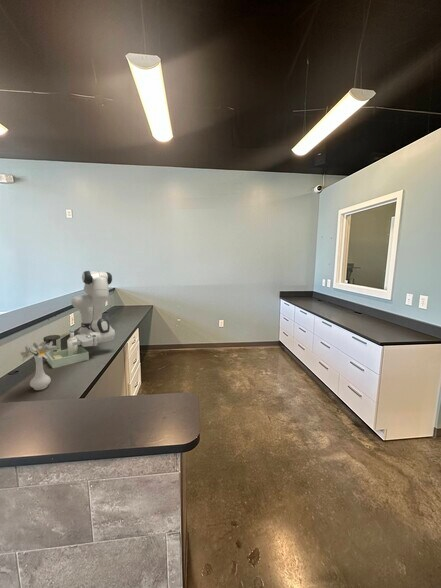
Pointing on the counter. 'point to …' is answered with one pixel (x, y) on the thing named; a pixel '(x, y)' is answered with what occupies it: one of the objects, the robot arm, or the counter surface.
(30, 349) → the flower vase
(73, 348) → the milk bottle
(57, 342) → the coffee can
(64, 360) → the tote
